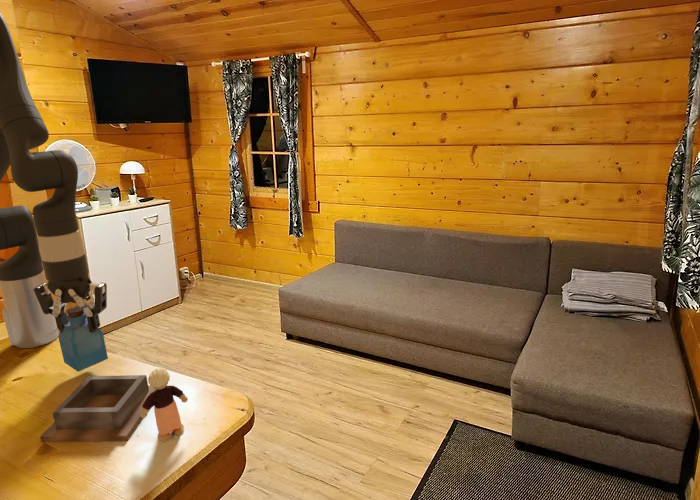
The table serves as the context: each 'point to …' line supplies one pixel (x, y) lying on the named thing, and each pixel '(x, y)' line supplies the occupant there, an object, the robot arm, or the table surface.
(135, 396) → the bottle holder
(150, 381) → the grandmother figurine
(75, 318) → the perfume bottle
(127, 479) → the table surface
